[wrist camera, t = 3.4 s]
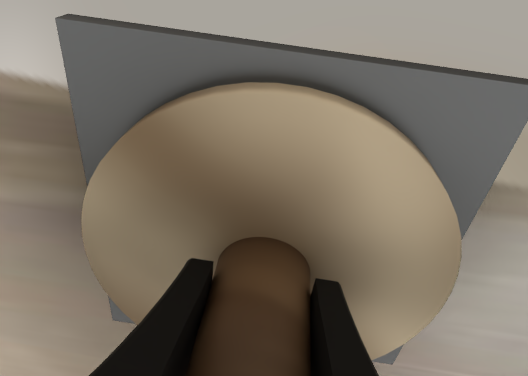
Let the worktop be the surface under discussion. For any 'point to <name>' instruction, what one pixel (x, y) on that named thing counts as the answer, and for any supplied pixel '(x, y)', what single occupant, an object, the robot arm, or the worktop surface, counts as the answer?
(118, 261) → the oak lid
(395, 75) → the charcoal mat
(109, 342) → the worktop surface
